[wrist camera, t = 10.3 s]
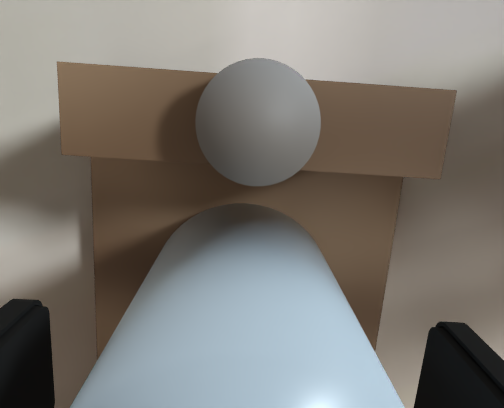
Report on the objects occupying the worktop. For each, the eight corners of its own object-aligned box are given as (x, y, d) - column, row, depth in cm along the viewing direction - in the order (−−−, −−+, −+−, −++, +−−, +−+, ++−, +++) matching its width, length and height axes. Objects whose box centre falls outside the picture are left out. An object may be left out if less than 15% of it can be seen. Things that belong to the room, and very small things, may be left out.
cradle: (97, 67, 12) (-73, 18, 6) (407, 89, 13) (582, 68, 6) (107, 431, 16) (6, 666, 9) (351, 442, 16) (426, 677, 9)
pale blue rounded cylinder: (154, 197, 13) (-2, 352, 5) (337, 209, 13) (493, 376, 5) (152, 359, 14) (32, 692, 6) (318, 367, 14) (412, 698, 6)
